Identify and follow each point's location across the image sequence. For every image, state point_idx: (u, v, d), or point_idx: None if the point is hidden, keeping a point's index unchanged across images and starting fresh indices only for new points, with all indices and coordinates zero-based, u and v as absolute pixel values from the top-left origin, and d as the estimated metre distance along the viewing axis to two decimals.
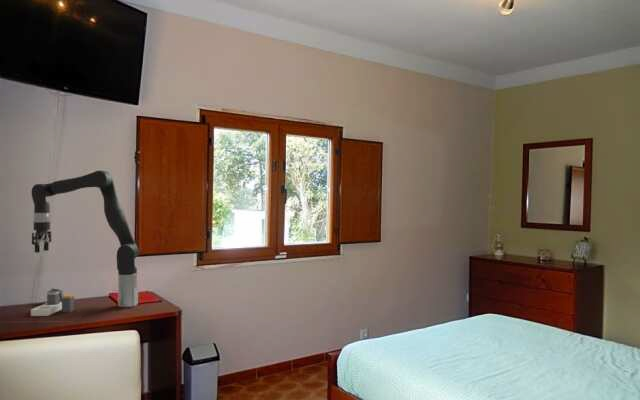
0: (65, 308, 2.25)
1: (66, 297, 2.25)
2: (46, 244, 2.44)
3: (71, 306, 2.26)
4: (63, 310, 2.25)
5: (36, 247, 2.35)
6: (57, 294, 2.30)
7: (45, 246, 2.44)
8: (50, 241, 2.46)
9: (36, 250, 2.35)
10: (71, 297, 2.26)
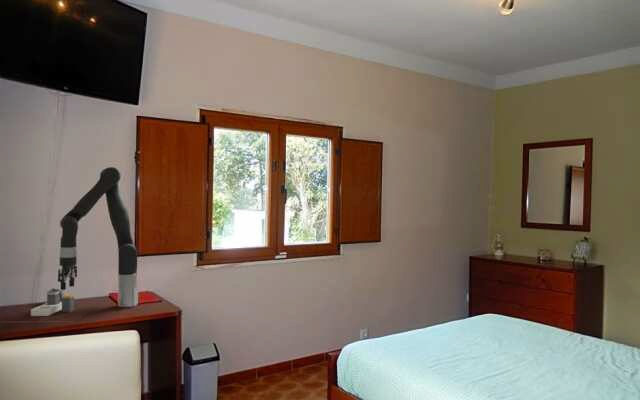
0: (65, 308, 2.25)
1: (66, 297, 2.25)
2: (72, 280, 2.31)
3: (71, 306, 2.26)
4: (63, 310, 2.25)
5: (62, 284, 2.21)
6: (57, 294, 2.30)
7: (71, 282, 2.31)
8: (76, 276, 2.33)
9: (62, 287, 2.21)
10: (71, 297, 2.26)
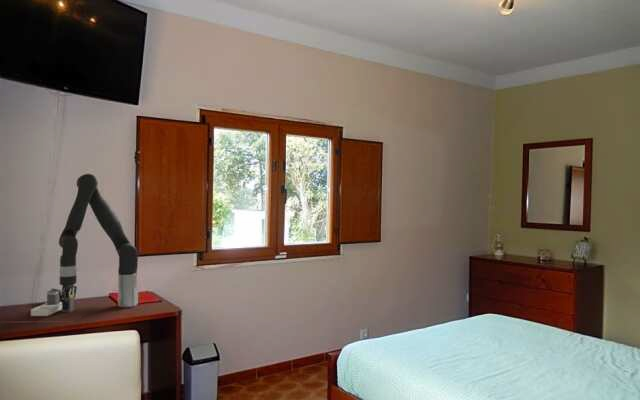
0: None
1: None
2: None
3: (71, 306, 2.26)
4: (63, 310, 2.25)
5: (65, 304, 2.23)
6: (57, 294, 2.30)
7: None
8: (74, 297, 2.31)
9: (65, 307, 2.23)
10: (71, 297, 2.26)
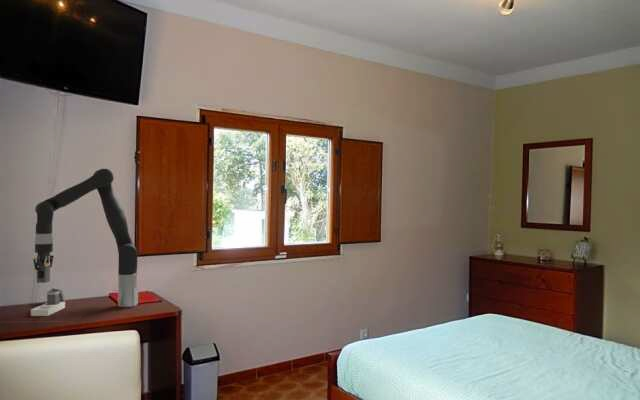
0: None
1: None
2: None
3: (47, 275, 2.20)
4: (38, 279, 2.19)
5: (40, 273, 2.17)
6: (57, 294, 2.30)
7: None
8: (50, 266, 2.25)
9: (40, 276, 2.17)
10: (47, 265, 2.20)
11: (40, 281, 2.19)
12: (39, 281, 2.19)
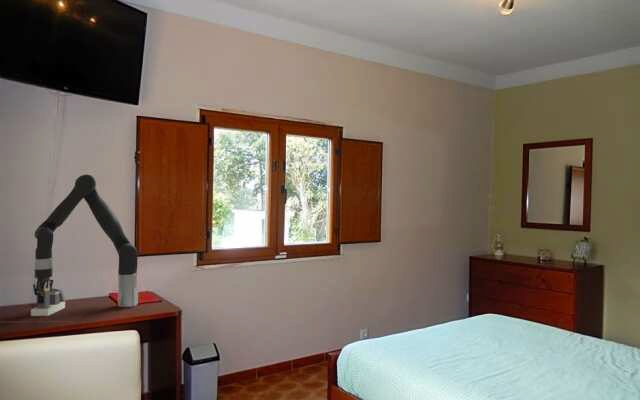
0: None
1: None
2: None
3: (46, 300, 2.20)
4: (38, 304, 2.19)
5: (39, 298, 2.17)
6: (57, 294, 2.30)
7: None
8: (50, 290, 2.25)
9: (39, 301, 2.17)
10: (46, 290, 2.20)
11: (40, 306, 2.19)
12: (39, 306, 2.19)
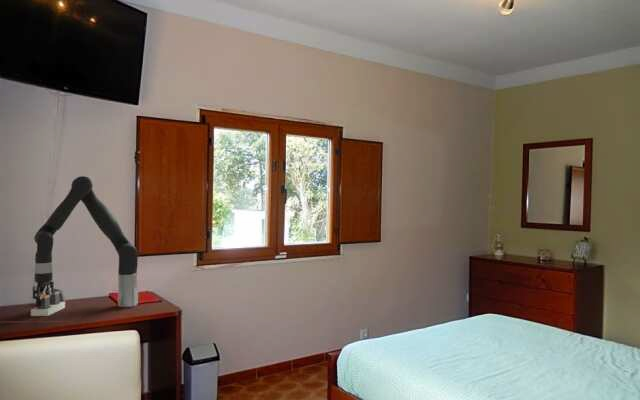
0: None
1: (41, 298, 2.19)
2: None
3: (46, 307, 2.20)
4: None
5: (38, 301, 2.16)
6: (57, 294, 2.30)
7: None
8: (52, 292, 2.27)
9: (38, 305, 2.16)
10: (46, 298, 2.20)
11: None
12: None
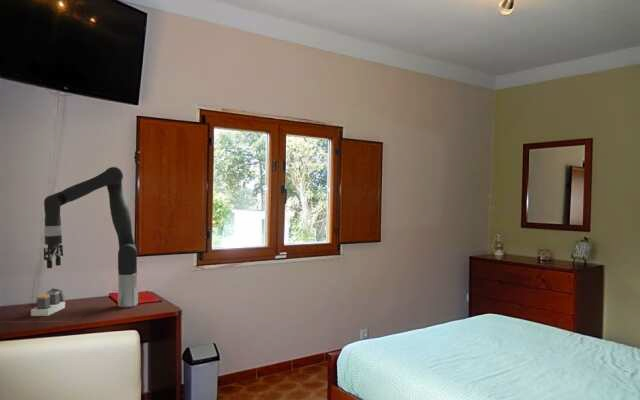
0: None
1: (41, 298, 2.19)
2: (58, 259, 2.30)
3: (46, 307, 2.20)
4: None
5: (48, 262, 2.21)
6: (57, 294, 2.30)
7: (57, 261, 2.30)
8: (62, 255, 2.33)
9: (48, 266, 2.21)
10: (46, 298, 2.20)
11: None
12: None
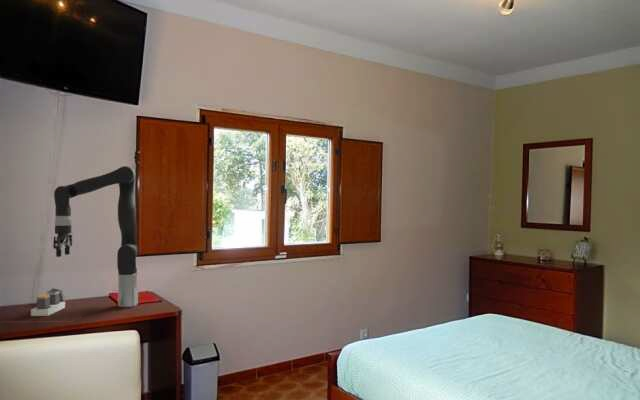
0: None
1: (41, 298, 2.19)
2: (67, 248, 2.37)
3: (46, 307, 2.20)
4: None
5: (58, 251, 2.28)
6: (57, 294, 2.30)
7: (66, 250, 2.37)
8: (71, 245, 2.39)
9: (58, 254, 2.28)
10: (46, 298, 2.20)
11: None
12: None
